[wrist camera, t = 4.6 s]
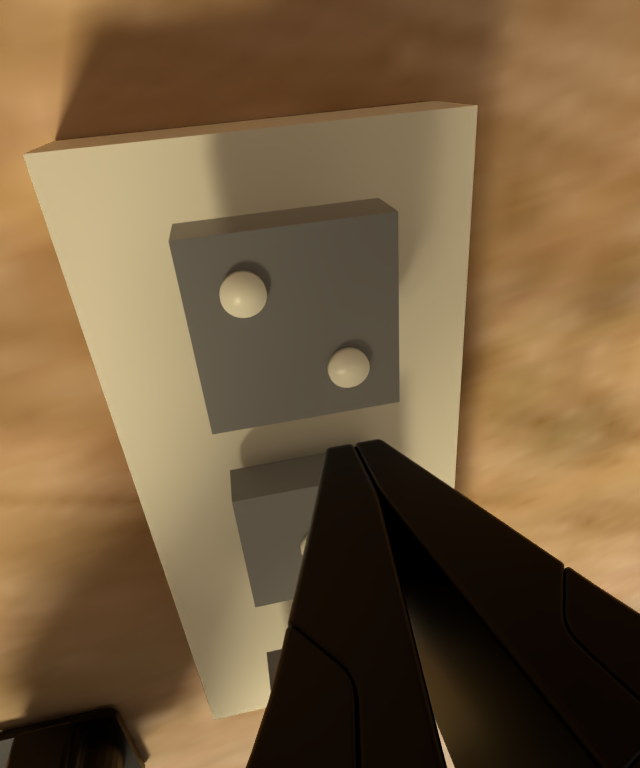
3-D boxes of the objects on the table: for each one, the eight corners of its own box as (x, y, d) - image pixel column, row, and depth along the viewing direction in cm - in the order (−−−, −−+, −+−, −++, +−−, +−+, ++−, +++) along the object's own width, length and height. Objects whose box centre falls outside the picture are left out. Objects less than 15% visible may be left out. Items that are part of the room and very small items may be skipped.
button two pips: (382, 374, 15) (402, 406, 14) (211, 402, 14) (212, 439, 13) (378, 197, 13) (401, 213, 11) (172, 223, 12) (167, 243, 11)
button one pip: (379, 546, 20) (393, 582, 19) (251, 572, 19) (255, 612, 18) (375, 443, 18) (391, 476, 16) (229, 470, 17) (231, 506, 16)
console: (421, 612, 28) (443, 665, 26) (213, 659, 27) (214, 719, 24) (434, 100, 16) (477, 105, 14) (54, 140, 15) (23, 154, 12)
